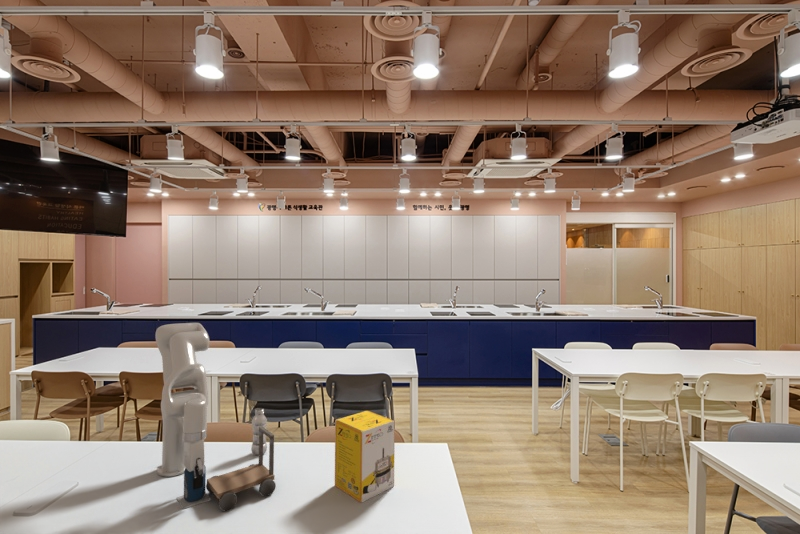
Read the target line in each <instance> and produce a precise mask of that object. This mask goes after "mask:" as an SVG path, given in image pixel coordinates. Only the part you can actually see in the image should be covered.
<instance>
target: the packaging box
mask: <svg viewBox="0 0 800 534" xmlns="http://www.w3.org/2000/svg"><path fill="white" fill-rule="evenodd" d="M334 421H335V424H334V426H335V427H334V436H335V437H334V486H335V488H336V487H337V488H338V489H340V490H341V491H343V492H344V493H346V494H347V495H349V496H351V498H354V499H355V500H356V501H358V502H360V503H363V502H365V501H367V500H369V499H372V498H374V497H375V496H378V495H379V494H381V493H384V492H386V491H387V490H390V489H391V488H394V486H395V433H396V432H395V431H396V430H395V426H396V425H395V424H396V423H395V420H393V419H391V418H389V417H386V416H384V415H380V414H378V413H375V412H372V411H370V410H364V411H361V412H358V413H354V414H352V415H351V414H350V415H348V416H344V417H342V418H341V417H340V418H337V419H335V420H334Z"/></svg>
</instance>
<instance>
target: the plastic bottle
mask: <svg viewBox="0 0 800 534" xmlns="http://www.w3.org/2000/svg"><path fill="white" fill-rule="evenodd" d="M254 410H255V411H254V414H255V415H254V416H253V418H252V420H251V428H252V442H251V443H252V444H251V450H250V451H251V453H252V455H253V456H259V427H264V428H265V429H266V430H267V424H268V419H267V417H266V415H265V414H264V413H265V408H262V407H257V408H255V409H254ZM266 437H267V436H266V435H265V434H263V455H264V454H266V452H267V450H268V449H267V448H268V446H267V439H266Z"/></svg>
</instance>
